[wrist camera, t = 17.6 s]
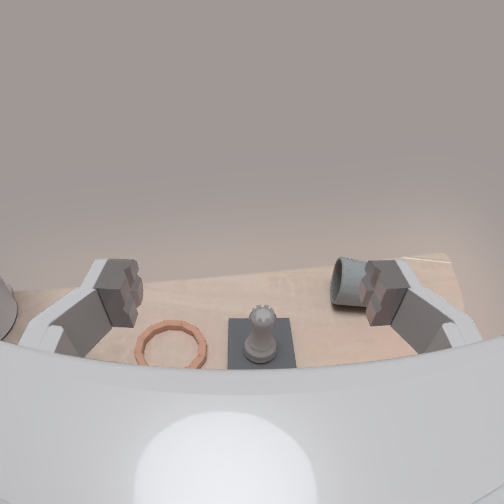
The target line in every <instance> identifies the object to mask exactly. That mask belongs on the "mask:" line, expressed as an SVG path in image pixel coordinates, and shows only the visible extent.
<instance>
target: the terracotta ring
mask: <svg viewBox="0 0 504 504" xmlns="http://www.w3.org/2000/svg"><path fill="white" fill-rule="evenodd" d="M165 330H183V331H184V332H186V333H188V334H190V335H192V336H194V338H195V340H196V341H197V343H198V345H199V348H198V355H197V357H196V358H195V359H194V360H193V361H192V363H191V364H190V365H189V366H188V367H185V368H191V369H200V368H201V366H202V365H203V364H204V363H205V360H206V352H207V343H206V340H205V338H204V337H203V335H202V333H201V332H200V330H199V329H198V328H197V327H195V326H193V325H191V324H189V323H187V322H185V321H184V322H183V321H176V320H167V321H166V320H165V321H162V322H160V323H157V324H154V325H151V326H150V327H148V328H147V329H146V330H145V331H144V332H143V333H142V334H141V335H140V336H139V337H138V339H137V343H136V347H135V351H134V354H135V356H136V359H137V361H138V364H139V365H147V366H149V365H148V364H146V362H145V360H144V357H143V353H144V349H145V344H146V343H147V342H148V341H149V340H150V339H151V338H152V337H153V336H154V335H155V334H157V333H160V332H163V331H165Z"/></svg>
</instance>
